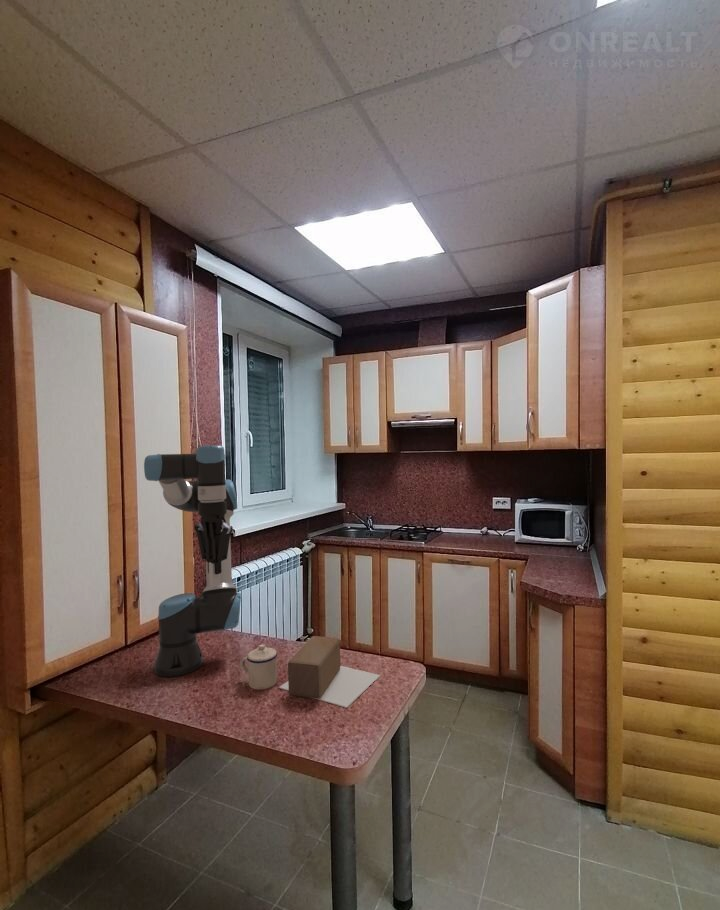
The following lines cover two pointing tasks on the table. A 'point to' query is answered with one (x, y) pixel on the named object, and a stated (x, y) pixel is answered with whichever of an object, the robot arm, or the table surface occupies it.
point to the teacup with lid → (261, 667)
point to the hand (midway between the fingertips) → (215, 585)
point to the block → (314, 666)
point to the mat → (345, 686)
